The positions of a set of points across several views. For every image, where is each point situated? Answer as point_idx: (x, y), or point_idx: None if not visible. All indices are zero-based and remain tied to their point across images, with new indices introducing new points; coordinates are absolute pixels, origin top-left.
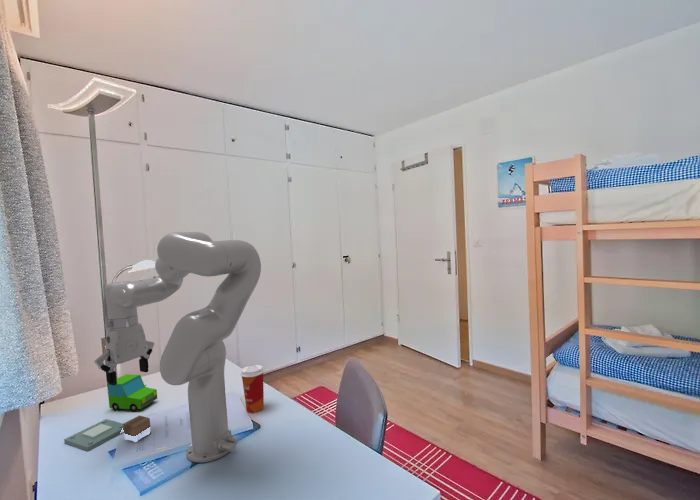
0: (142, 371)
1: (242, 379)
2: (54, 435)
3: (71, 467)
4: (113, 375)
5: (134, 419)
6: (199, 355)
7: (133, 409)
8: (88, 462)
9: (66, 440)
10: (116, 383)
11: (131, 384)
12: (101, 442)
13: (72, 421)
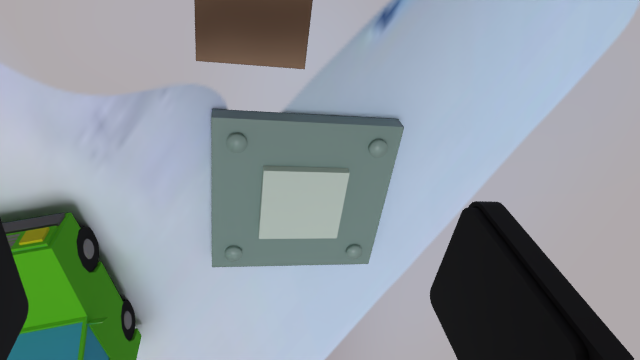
0: (14, 272)
1: None
2: (331, 322)
3: (495, 74)
4: (577, 310)
5: (243, 43)
6: None
7: (91, 243)
8: (466, 35)
9: (370, 251)
10: (484, 205)
11: None
12: (347, 119)
13: (250, 356)
